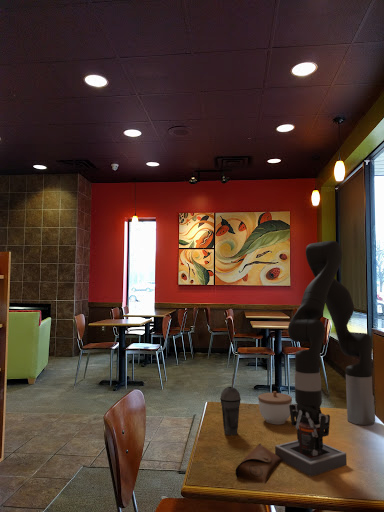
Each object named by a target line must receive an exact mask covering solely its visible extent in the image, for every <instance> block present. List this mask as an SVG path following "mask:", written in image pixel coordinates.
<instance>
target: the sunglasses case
mask: <svg viewBox="0 0 384 512" xmlns="http://www.w3.org/2000/svg"><path fill="white" fill-rule="evenodd" d="M280 462H283V461H282V459H281V457H279V456H277V455H276V454H275V453H274V452H273V451H271V450H270V449H268V448H266V447H264V446H263V445H262V444H261V443H258V445H257V446H256V447H254V448H253V449H252V451H250V452H249V453H248V454H247V455H246V456H245V457H244V459H243V460H242V461H241V462H240V463H239V464H238V465H237V466H236V469H235V476H236V477H237V479H241V480H246V481H251V482H255V483H260V482H261V483H262V484H266V483H267V481H268V478H269V477H270V475H271V474H272V472H274V469H276V467H277V466H278V465H279V464H280Z"/></svg>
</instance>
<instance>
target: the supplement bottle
mask: <svg viewBox="0 0 384 512" xmlns="http://www.w3.org/2000/svg"><path fill="white" fill-rule="evenodd" d="M314 425H317V423H315V424H314ZM317 431H318V432H319V429H318V428H317ZM314 437H315V435H314V432H313V429H311V427H310V424H309V421H308V419H307V417H306V416H305V415H302V421H301V422H300V423H299V453H301V454H303V455H305V456H307V457H309V458H313V457H316V456H320V455H321V454H320V453H321V450H320V451H316V450H315V440H314Z"/></svg>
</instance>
